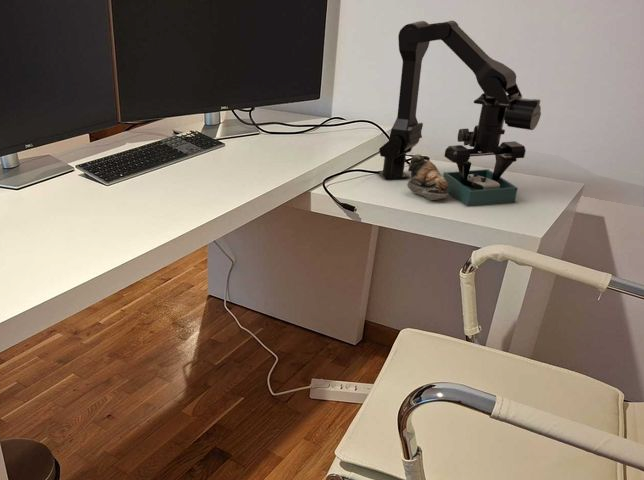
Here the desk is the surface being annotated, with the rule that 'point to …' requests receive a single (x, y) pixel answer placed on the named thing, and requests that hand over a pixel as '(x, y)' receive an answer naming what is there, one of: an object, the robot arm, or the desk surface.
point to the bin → (480, 196)
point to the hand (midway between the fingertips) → (478, 184)
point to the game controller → (481, 182)
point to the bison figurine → (426, 179)
